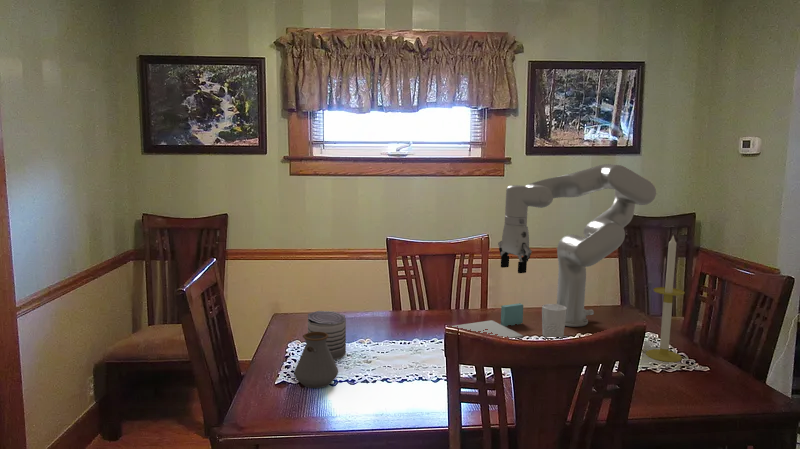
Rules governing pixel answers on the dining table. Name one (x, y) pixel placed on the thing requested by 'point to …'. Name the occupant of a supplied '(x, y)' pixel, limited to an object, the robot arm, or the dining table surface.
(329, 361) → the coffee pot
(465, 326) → the mat
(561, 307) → the white cup
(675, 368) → the dining table surface
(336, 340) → the can
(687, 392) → the dining table surface
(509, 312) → the slab
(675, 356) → the candle
